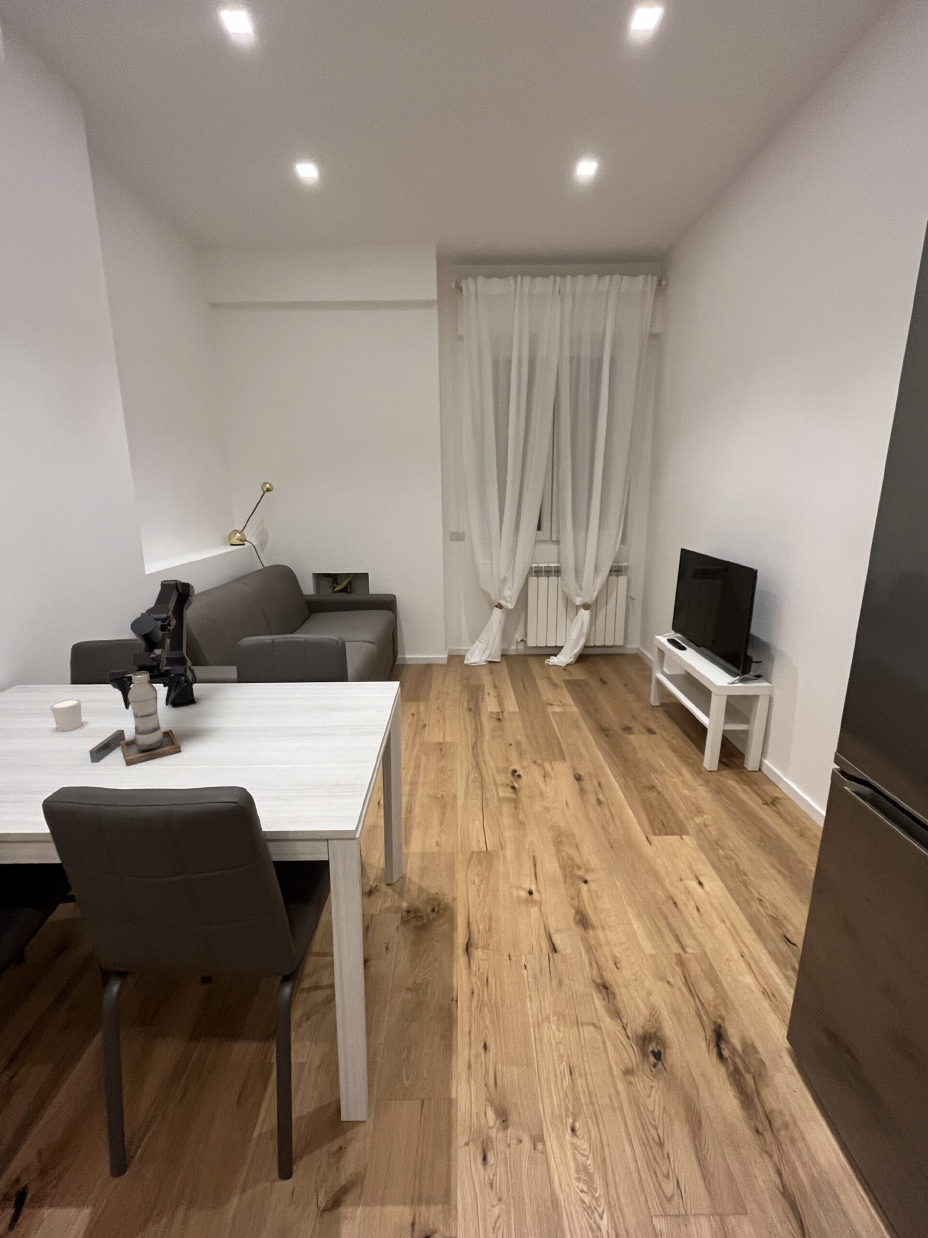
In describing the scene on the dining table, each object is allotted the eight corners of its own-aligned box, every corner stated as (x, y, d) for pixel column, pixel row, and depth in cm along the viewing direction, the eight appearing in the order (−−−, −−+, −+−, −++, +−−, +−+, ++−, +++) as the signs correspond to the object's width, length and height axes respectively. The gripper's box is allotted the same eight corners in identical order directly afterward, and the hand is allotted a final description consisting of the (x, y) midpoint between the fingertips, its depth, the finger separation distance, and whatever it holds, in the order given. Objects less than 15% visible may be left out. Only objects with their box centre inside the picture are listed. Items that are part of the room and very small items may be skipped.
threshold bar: (119, 740, 146) (118, 729, 145) (125, 740, 146) (123, 729, 145) (91, 762, 134) (89, 750, 133) (97, 762, 134) (95, 750, 133)
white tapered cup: (69, 733, 150) (64, 709, 149) (48, 731, 152) (43, 707, 150) (90, 722, 157) (86, 699, 155) (70, 720, 158) (66, 698, 156)
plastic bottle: (168, 741, 144) (159, 668, 139) (159, 752, 137) (149, 677, 133) (141, 742, 143) (131, 670, 138) (131, 755, 136) (120, 679, 132)
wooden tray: (172, 735, 148) (171, 729, 148) (181, 751, 139) (180, 745, 139) (120, 747, 141) (119, 741, 141) (126, 766, 132) (125, 759, 132)
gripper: (103, 641, 138) (92, 698, 130) (183, 636, 142) (178, 691, 135) (119, 661, 147) (110, 715, 140) (194, 656, 152) (189, 708, 144)
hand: (146, 707), depth 139 cm, fingers open, 9 cm apart
